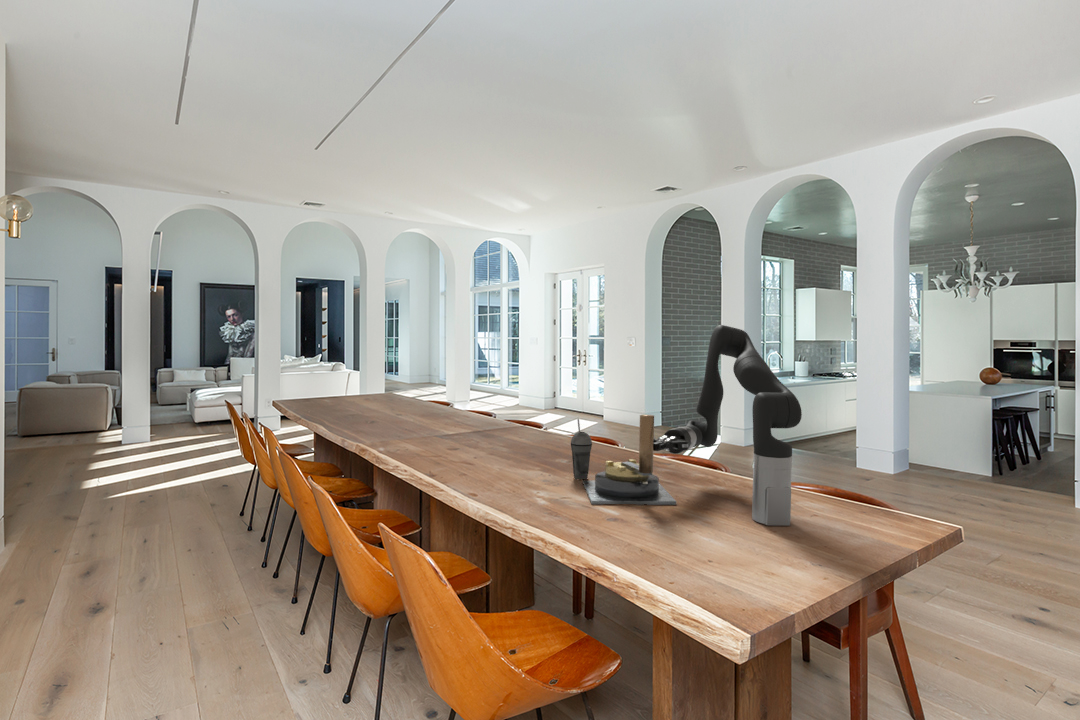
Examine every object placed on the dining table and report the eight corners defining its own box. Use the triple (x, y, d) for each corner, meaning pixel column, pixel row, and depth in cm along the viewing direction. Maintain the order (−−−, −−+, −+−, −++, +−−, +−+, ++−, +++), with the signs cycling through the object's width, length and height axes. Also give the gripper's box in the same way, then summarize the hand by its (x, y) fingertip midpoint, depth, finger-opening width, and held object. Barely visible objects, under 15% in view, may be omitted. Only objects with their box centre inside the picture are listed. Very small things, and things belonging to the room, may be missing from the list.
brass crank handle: (597, 473, 181) (599, 409, 181) (635, 470, 186) (636, 407, 185) (628, 488, 163) (630, 417, 162) (669, 485, 167) (670, 415, 167)
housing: (676, 504, 166) (676, 486, 166) (591, 504, 165) (591, 485, 165) (657, 484, 190) (657, 467, 190) (582, 483, 189) (583, 467, 189)
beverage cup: (592, 481, 193) (593, 420, 192) (570, 480, 193) (571, 419, 192) (590, 476, 200) (591, 417, 199) (569, 475, 200) (570, 417, 199)
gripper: (660, 425, 185) (634, 431, 171) (701, 429, 177) (676, 436, 163) (660, 449, 185) (633, 457, 171) (700, 454, 177) (676, 463, 163)
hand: (654, 447), depth 167 cm, fingers closed
